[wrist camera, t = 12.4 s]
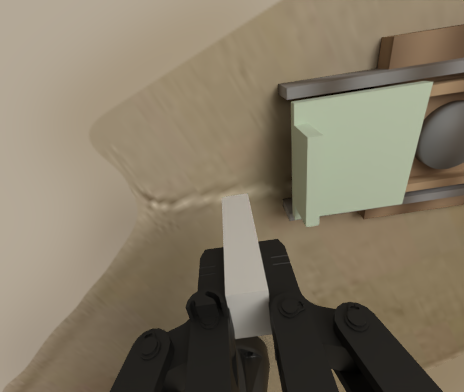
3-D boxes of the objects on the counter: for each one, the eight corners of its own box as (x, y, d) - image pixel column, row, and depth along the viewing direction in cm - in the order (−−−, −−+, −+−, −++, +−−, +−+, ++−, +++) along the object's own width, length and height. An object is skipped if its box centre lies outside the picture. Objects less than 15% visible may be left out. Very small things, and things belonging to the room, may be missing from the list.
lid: (292, 214, 23) (305, 241, 19) (290, 101, 18) (308, 112, 14) (396, 199, 23) (427, 224, 19) (424, 80, 17) (473, 87, 14)
